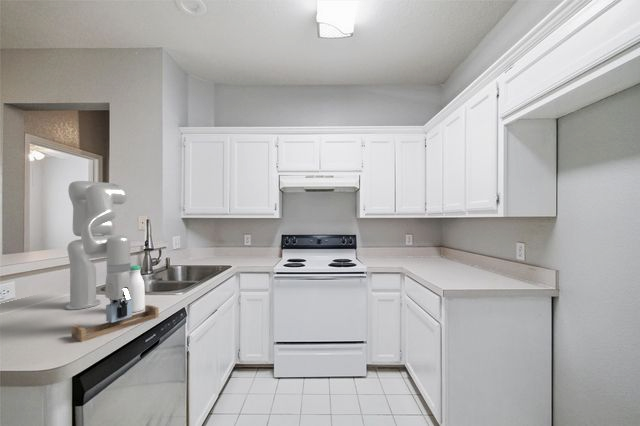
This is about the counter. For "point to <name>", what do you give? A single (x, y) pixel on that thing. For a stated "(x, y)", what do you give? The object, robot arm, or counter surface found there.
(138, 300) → the milk bottle
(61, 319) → the counter surface
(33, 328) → the counter surface
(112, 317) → the pale blue upright box
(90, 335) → the bottom track
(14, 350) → the counter surface
